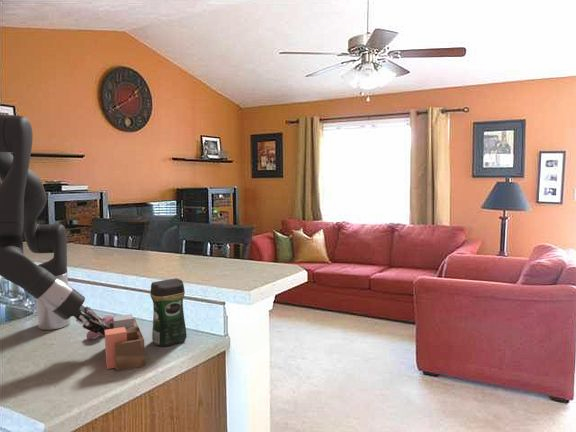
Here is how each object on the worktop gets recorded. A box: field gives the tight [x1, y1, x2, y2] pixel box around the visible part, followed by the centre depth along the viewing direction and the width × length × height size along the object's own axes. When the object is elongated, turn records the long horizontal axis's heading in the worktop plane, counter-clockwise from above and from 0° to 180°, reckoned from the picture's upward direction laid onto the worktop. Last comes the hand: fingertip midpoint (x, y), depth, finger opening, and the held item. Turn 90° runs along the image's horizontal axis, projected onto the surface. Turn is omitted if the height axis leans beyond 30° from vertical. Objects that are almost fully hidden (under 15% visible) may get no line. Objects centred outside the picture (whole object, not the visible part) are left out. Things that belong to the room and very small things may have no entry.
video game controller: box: [86, 313, 115, 340], centre depth 135 cm, size 10×5×7 cm, turn 170°
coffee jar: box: [149, 277, 188, 347], centre depth 129 cm, size 10×8×19 cm
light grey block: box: [113, 313, 134, 328], centre depth 124 cm, size 4×5×9 cm
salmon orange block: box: [104, 327, 127, 370], centre depth 114 cm, size 4×5×9 cm
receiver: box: [109, 318, 146, 372], centre depth 120 cm, size 18×7×7 cm, turn 26°
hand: (112, 335), depth 123 cm, fingers closed
